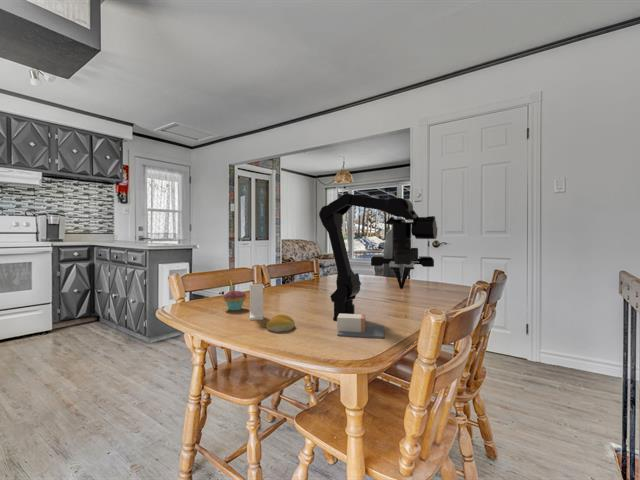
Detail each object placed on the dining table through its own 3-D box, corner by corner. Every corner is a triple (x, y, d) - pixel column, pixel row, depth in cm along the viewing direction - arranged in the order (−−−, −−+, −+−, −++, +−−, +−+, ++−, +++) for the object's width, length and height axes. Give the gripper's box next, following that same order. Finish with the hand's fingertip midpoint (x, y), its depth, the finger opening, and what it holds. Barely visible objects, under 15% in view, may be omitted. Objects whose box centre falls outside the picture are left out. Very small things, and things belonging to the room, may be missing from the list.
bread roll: (263, 332, 101) (263, 319, 101) (273, 324, 109) (272, 312, 109) (290, 333, 99) (290, 320, 99) (297, 325, 108) (297, 313, 108)
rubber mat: (337, 335, 96) (337, 334, 96) (342, 325, 107) (342, 323, 107) (383, 338, 94) (383, 336, 94) (383, 327, 105) (383, 325, 105)
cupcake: (219, 311, 127) (219, 279, 127) (229, 306, 135) (229, 276, 135) (241, 312, 125) (241, 280, 125) (249, 306, 134) (249, 276, 134)
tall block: (364, 332, 98) (337, 330, 99) (365, 327, 103) (339, 326, 104) (364, 318, 98) (337, 317, 99) (365, 314, 103) (339, 313, 104)
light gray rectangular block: (249, 320, 114) (249, 284, 114) (250, 315, 120) (249, 282, 119) (263, 319, 115) (263, 284, 114) (263, 315, 121) (263, 281, 120)
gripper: (370, 239, 98) (370, 292, 99) (437, 239, 95) (436, 294, 95) (371, 238, 109) (371, 286, 110) (431, 238, 106) (431, 288, 106)
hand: (401, 288), depth 105 cm, fingers closed
